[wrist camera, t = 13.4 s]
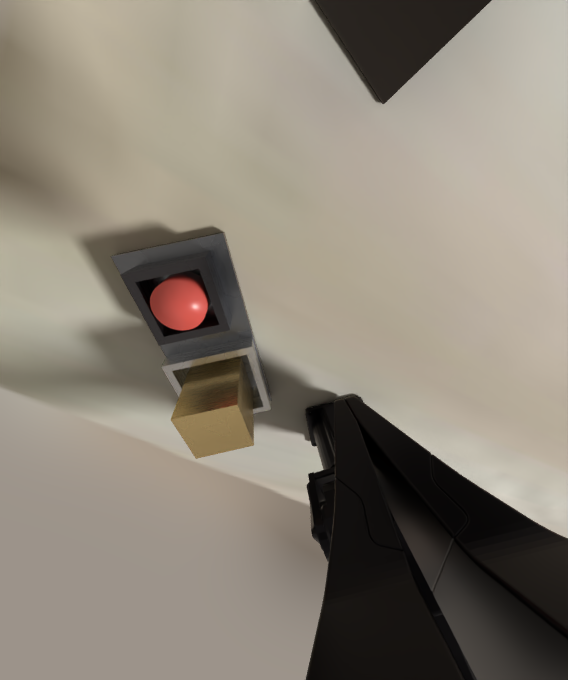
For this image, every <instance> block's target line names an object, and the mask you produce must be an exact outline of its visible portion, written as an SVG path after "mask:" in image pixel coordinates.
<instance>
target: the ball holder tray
mask: <svg viewBox="0 0 568 680" xmlns="http://www.w3.org/2000/svg"><path fill="white" fill-rule="evenodd" d="M111 258H112V259H113V261H114V263H115V265H116V267H117V268H118V270H119V272H120V275H121V277H122V279H123V281H124V282H125V284H126V286H127V288H128V290H129V291H130V293H131V295H132V297H133V299H134V301H135V302H136V304H137V306H138V308H139V310H140V311H141V313H142V315H143V317H144V319H145V321H146V322H147V324H148V326H149V328H150V330H151V331H152V333H153V335H154V337H155V339H156V341H157V342H158V344H159V346H160V347H161V349H162V351H163V352H164V354H165V356H166V359H165V361H164V363H163V365H162V366H161V367H162V369H163V371H164V373H165V374H166V376H167V378H168V380H169V381H170V383H171V385H172V386H173V388H174V390H175V392H176V393H177V395H178V397H179V396H180V393H181V390H182V388H183V385H184V382H185V379H186V377H187V374H188V371H189V369H190V367H193V366H197V365H202V364H206V363H211V362H215V361H220V360H224V359H229V358H233V357H238V356H241V358H242V360H243V363H244V366H245V369H246V372H247V375H248V378H249V381H250V384H251V387H252V390H253V414H255V413H259V412H263V411H268V410H271V404H270V401H271V395H270V391H269V388H268V384H267V381H266V377H265V374H264V370H263V367H262V363H261V360H260V356H259V353H258V349H257V346H256V342H255V339H254V335H253V332H252V328H251V325H250V321H249V318H248V314H247V311H246V307H245V304H244V300H243V296H242V293H241V289H240V286H239V282H238V279H237V275H236V272H235V268H234V265H233V261H232V258H231V254H230V251H229V247H228V244H227V240H226V237H225V233H224V232H222V233H217V234H212V235H208V236H203V237H198V238H193V239H188V240H184V241H179V242H174V243H169V244H165V245H160V246H155V247H150V248H146V249H141V250H136V251H131V252H126V253H122V254H117V255H114V256H111ZM185 271H189V272H193V273H195V274H197V275H199V276H200V277H202V279H203V281H204V284H205V287H206V290H207V292H208V295H209V298H210V301H211V302H210V305H209V307H208V310H207V312H206V315H205V317H204V319H203V321H202V322H201V323H200V324H199V325H198V326H197V327H195V328H193V329H190V330H175V329H172V328H169V327H167V326H165V325H164V324H162V323H161V322H160V321H159V320H158V319H157V318H156V317H155V316H154V314H153V312H152V310H151V307H150V297H151V294H152V292H153V291H154V289H155V288H156V287H157V286H158V285H160V284H161V283H162V282H163V281H164V280H165V279H166V278H167V277H169V276H170V275H171V274H176V273H181V272H185Z"/></svg>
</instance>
